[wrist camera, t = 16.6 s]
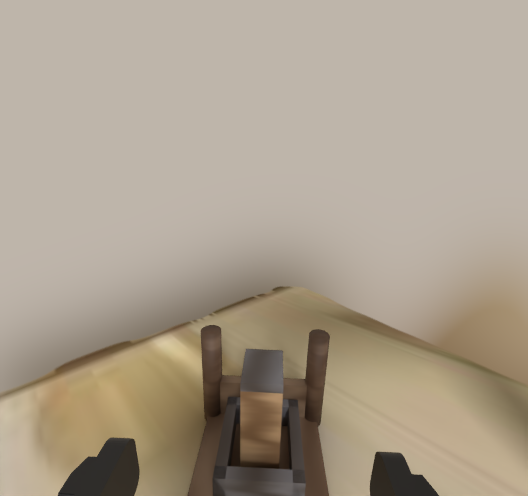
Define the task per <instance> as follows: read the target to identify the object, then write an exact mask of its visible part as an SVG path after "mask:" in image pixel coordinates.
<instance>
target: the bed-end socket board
mask: <svg viewBox="0 0 528 496" xmlns="http://www.w3.org/2000/svg"><path fill="white" fill-rule="evenodd" d="M329 339H330V336H329V334H328V333H327V332H325V331H323V330H312V331H311V332H310V333H309V344H308V356H307V367H306V379H290V378H283V384H284V385H283V403H282V421H281V438H280V456H279V469H271V468H253V467H240V382H241V376H225V375H222V348H221V328H220V327H219V326H216V325H209V326H206V327H204V328H202V330H201V345H202V368H203V390H204V412H205V419H206V421H207V422H206V426H205V430H204V434H203V438H202V442H201V446H200V450H199V453H198V457H197V461H196V465H195V469H194V473H193V477H192V481H191V485H190V488H189V492H188V496H329V493H328V487H327V481H326V475H325V469H324V462H323V456H322V450H321V444H320V438H319V432H318V426H319V425H320V422H321V413H322V403H323V394H324V385H325V376H326V367H327V357H328V348H329Z"/></svg>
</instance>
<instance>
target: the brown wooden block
mask: <svg viewBox="0 0 528 496" xmlns="http://www.w3.org/2000/svg"><path fill="white" fill-rule="evenodd" d="M283 385H284V384H283V351H280V350H259V349H246V352H245V358H244V364H243V370H242V376H241V382H240V467H253V468H271V469H279V456H280V438H281V421H282V403H283Z"/></svg>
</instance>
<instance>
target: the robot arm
mask: <svg viewBox="0 0 528 496" xmlns="http://www.w3.org/2000/svg"><path fill="white" fill-rule="evenodd" d="M138 480H139V464H138V458H137V452H136V445H135V441H134V439H130V438H109V439H108V440H107V441H106V443H105V444H104V446H103V447H102V449H101V451H100V452H99V454H98V456H97V457H87V458H86V459H85V460H84V461H83V462H82V463H81V464H80V465H79V466H78V467H77V468H76V469H75V470H74V471H73V472H72V473H71V474H70V476H69V477H68V479H67V481H66V482H65V484H64V485H63V487H62V488H61V490H60V491H59V493H58V496H134V494H135V492H136V488H137V485H138ZM370 496H439V495H438V494H437V492H436V491H435V490H434V489H433V488H432V486H431V485H430V484H429V483H428V482H427V480H426V479H425V478H424V477H423V475H414V474H411V472H410V469H409V467H408V465H407V462H406V460H405V458H404V456H403V455H402V454H401V453H393V452H376V454H375V459H374V464H373V470H372V475H371V481H370Z"/></svg>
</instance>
